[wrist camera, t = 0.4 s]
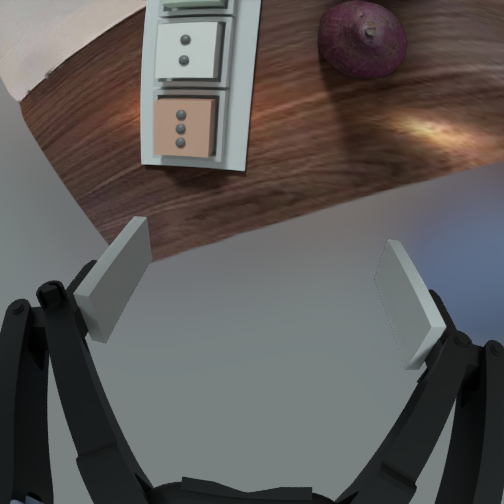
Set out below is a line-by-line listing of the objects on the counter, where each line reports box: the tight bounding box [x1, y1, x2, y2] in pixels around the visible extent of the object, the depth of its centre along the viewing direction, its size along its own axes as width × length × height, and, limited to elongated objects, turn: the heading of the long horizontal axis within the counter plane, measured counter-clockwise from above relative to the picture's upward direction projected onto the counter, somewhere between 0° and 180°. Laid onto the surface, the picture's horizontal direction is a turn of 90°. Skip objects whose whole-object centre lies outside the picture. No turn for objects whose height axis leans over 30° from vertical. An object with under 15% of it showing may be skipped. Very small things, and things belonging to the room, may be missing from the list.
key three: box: [154, 98, 216, 158], centre depth 32 cm, size 6×6×3 cm
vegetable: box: [318, 0, 407, 79], centre depth 24 cm, size 10×10×15 cm
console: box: [141, 0, 261, 171], centre depth 29 cm, size 30×14×4 cm, turn 175°
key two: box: [155, 22, 222, 78], centre depth 27 cm, size 6×6×3 cm
